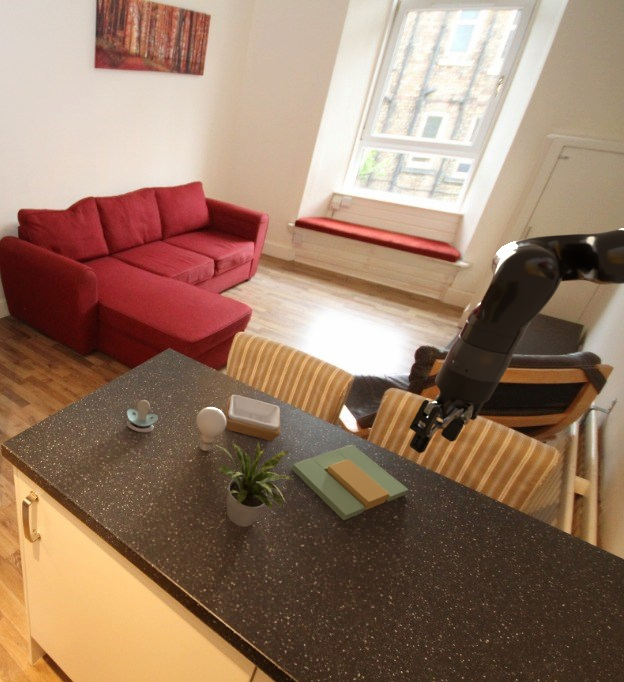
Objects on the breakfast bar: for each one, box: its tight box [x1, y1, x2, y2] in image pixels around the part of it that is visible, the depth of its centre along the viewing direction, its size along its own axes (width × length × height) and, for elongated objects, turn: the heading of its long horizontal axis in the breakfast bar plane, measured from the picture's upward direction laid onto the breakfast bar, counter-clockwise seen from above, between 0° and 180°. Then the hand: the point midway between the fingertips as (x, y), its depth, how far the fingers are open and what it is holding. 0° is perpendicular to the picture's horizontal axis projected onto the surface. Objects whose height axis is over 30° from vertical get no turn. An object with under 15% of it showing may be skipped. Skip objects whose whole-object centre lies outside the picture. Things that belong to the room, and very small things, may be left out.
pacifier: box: [126, 399, 159, 433], centre depth 103 cm, size 7×6×6 cm
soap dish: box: [224, 394, 281, 442], centre depth 106 cm, size 12×10×5 cm
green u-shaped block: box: [290, 444, 409, 521], centre depth 93 cm, size 18×14×2 cm
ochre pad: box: [326, 459, 389, 512], centre depth 92 cm, size 6×10×2 cm, turn 24°
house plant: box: [211, 440, 294, 528], centre depth 80 cm, size 14×14×16 cm
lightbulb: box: [195, 406, 227, 452], centre depth 96 cm, size 6×6×11 cm
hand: (432, 443), depth 79 cm, fingers open, 8 cm apart
